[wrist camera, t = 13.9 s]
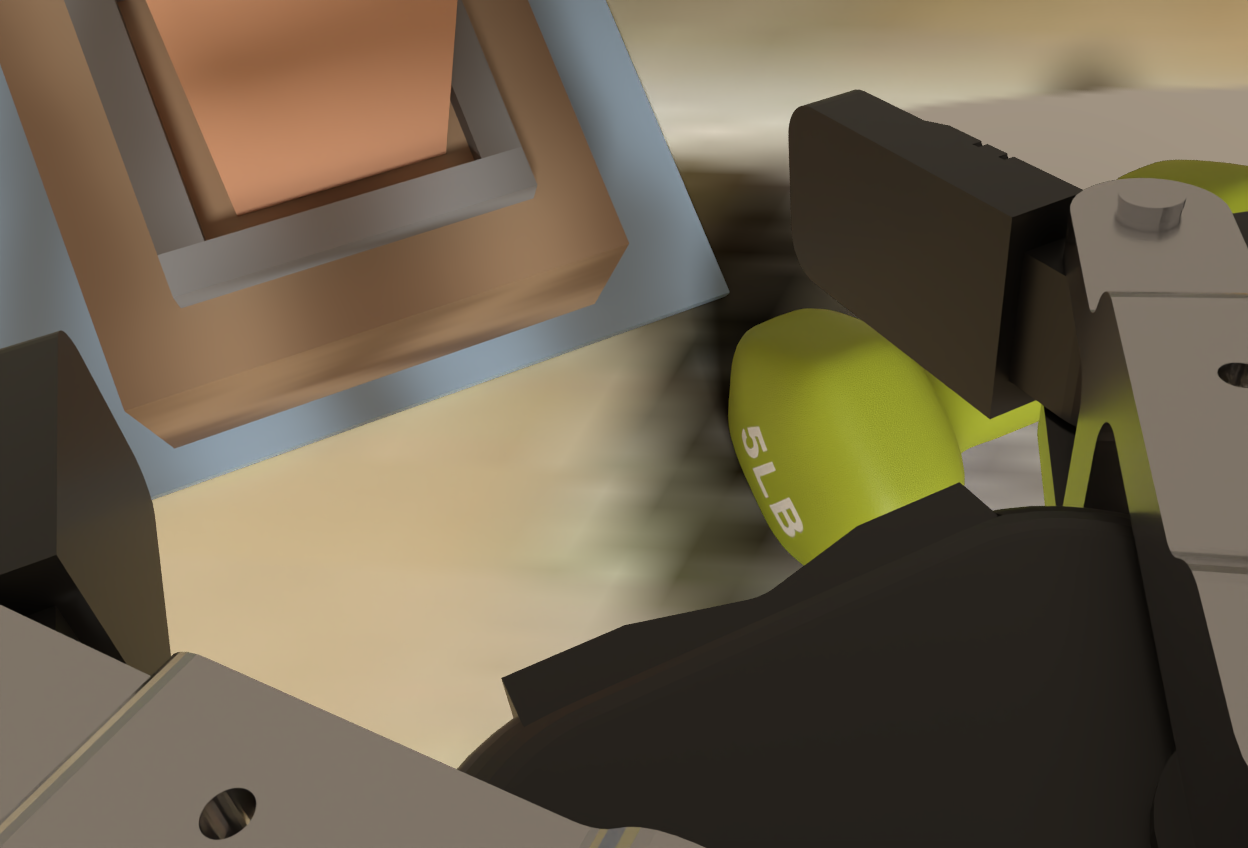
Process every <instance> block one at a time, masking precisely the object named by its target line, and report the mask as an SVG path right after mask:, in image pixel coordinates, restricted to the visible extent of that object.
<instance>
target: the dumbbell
mask: <svg viewBox="0 0 1248 848" xmlns="http://www.w3.org/2000/svg"><path fill="white" fill-rule="evenodd" d="M1128 178H1155V179H1166V180H1172V181H1178V182H1182V183H1186V184H1191V185H1194V186H1197V187H1200V188H1203V189H1205V190H1207V191H1209V192H1211V193H1213V194H1215V195H1216V196H1218V197H1219V198H1221V199H1222V200H1223V201H1224V202H1225V203H1226V204H1227V205H1228V206H1229V208H1230V210H1231V212H1232V213H1238V212H1245V211H1248V166H1244V165H1238V164H1231V163H1221V162H1211V161H1198V160H1167V161H1160V162H1156V163H1153V164H1150V165H1147V166H1144V167H1142V168H1139V169H1137V170H1135V171H1132V172H1130V173H1127V174H1125V175H1123V176H1121V177H1120V178H1118V179H1117V180H1119V179H1128ZM1040 409H1041V403H1039V402H1038V401H1033V402H1031V403H1028V404H1026V405H1024V406H1021V407H1019V408H1016V409H1014V410H1011V411H1009V412H1007V413H1004V414H1002V415H999V416H997V417H995V418H992V419H989V418H987V417H986V416H985V415H983V414H982V413H981V412H980V411H978V410H977V409H976V408H974V407H973V406H972V405H971V404H969V403H968V402H967V401H965V400H964V399H963V398H962V397H960V396H959V395H958V394H956V393H955V392H954V391H953V390H951V389H950V388H949V387H947V386H946V385H945V384H944V383H942V382H941V381H940V380H938V379H937V378H936V377H934V376H933V375H932V374H931V373H929V372H928V371H927V370H925V369H924V368H923V367H922V366H920V365H919V364H918V363H916V362H915V361H914V360H913V359H911V358H910V357H909V356H907V355H906V354H905V353H904V352H902V351H901V350H900V349H898V348H897V347H896V346H895V345H893V344H892V343H891V342H889V341H888V340H887V339H886V338H884V337H883V336H882V335H880V334H879V333H878V332H877V331H875V330H874V329H873V328H871V327H870V326H869V325H868V324H866V323H865V322H864V321H862V320H860V319H857V318H854V317H852V316H849V315H846V314H843V313H840V312H836V311H831V310H827V309H811V308H805V309H800V310H795V311H792V312H789V313H786V314H783V315H780V316H777V317H775V318H773V319H770V320H768V321H765V322H763V323H761V324H758V325H756V326H754V327H753V328H751V329H750V330H748V331H747V332H746V333H745V334H744V336H743V337H742V338H741V340H740V341H739V343H738V345H737V347H736V350H735V354H734V357H733V361H732V368H731V379H730V393H729V407H728V421H729V430H730V435H731V439H732V442H733V446H734V449H735V452H736V455H737V458H738V460H739V463H740V465H741V468H742V470H743V472H744V475H745V477H746V479H747V481H748V484H749V486H750V488H751V490H752V492H753V495H754V497H755V499H756V501H757V503H758V505H759V507H760V510H761V512H762V514H763V516H764V518H765V519H766V521H767V523H768V525H769V527H770V529H771V530H772V532H773V533H774V535H775V536H776V538H777V539H778V540H779V542H780V543H781V544H782V546H783V547H784V548H785V549H786V550H787V551H788V552H789V553H790V554H791V555H792V556H793V557H794V558H795V559H796V560H798V561H799V562H800V563H801V564H803V565H806V564H807V563H808V562H810V561H811V560H812V559H814V558H815V557H816V556H818V555H819V554H820V553H822V552H823V551H824V550H826V549H827V548H828V547H830V546H831V545H832V544H834V543H835V542H836V541H838V540H839V539H840V538H842V537H843V536H844V535H846V534H847V533H848V532H850V531H851V530H852V529H854V528H855V527H856V526H858V525H861V524H863V523H865V522H868V521H870V520H872V519H875V518H877V517H879V516H882V515H884V514H886V513H889V512H891V511H893V510H896V509H898V508H900V507H903V506H905V505H907V504H910V503H912V502H914V501H917V500H919V499H921V498H924V497H926V496H928V495H931V494H933V493H935V492H938V491H940V490H942V489H945V488H947V487H949V486H952V485H954V484H956V483H959V482H960V483H961V484H962V485H964V484H965V483H964V468H963V462H962V456H961V453H962V452H964V451H965V450H967V449H969V448H971V447H973V446H976V445H979V444H982V443H984V442H987V441H990V440H993V439H996V438H998V437H1001V436H1003V435H1006V434H1008V433H1011V432H1013V431H1016V430H1018V429H1021V428H1023V427H1025V426H1028V425H1030V424H1033V423H1035V422H1037V421H1039V416H1040Z"/></svg>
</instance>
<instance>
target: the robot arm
mask: <svg viewBox="0 0 1248 848" xmlns="http://www.w3.org/2000/svg"><path fill="white" fill-rule="evenodd" d="M789 168H790V200H791V231H792V240H793V245H794V249H795V253H796V255H797V258H798V261H799V263H800V265H801V267H802V269H803V270H804V272H805V273H806V275H807V276H808V277H809V279H810V280H811V281H812V282H814V283H815V284H816V285H817V286H819V287H820V288H821V289H822V290H824V291H825V292H826V293H828V294H829V295H830V296H831V297H833V298H834V299H835V300H837V301H838V302H839V303H841V304H842V305H843V306H844V307H846V308H847V309H848V310H850V311H851V312H852V313H853V314H855V315H856V316H857V317H859V318H860V319H861V320H862V321H864V322H865V323H866V324H868V325H869V326H870V327H871V328H873V329H874V330H875V331H877V332H878V333H879V334H880V335H882V336H883V337H884V338H886V339H887V340H888V341H889V342H891V343H892V344H893V345H895V346H896V347H897V348H898V349H900V350H901V351H902V352H904V353H905V354H906V355H907V356H909V357H910V358H911V359H913V360H914V361H915V362H916V363H918V364H919V365H920V366H922V367H923V368H924V369H925V370H927V371H928V372H929V373H931V374H932V375H933V376H934V377H936V378H937V379H938V380H940V381H941V382H942V383H944V384H945V385H946V386H947V387H949V388H950V389H951V390H953V391H954V392H955V393H956V394H958V395H959V396H960V397H962V398H963V399H964V400H965V401H967V402H968V403H969V404H971V405H972V406H973V407H974V408H976V409H977V410H978V411H980V412H981V413H982V414H983V415H985V416H986V417H987V418H989V419H992V418H995V417H997V416H999V415H1002V414H1004V413H1007V412H1009V411H1011V410H1014V409H1016V408H1019V407H1021V406H1024V405H1026V404H1028V403H1031V402H1033V401H1038V402H1039V403H1041V409H1040V416H1039V423H1038V433H1037V436H1038V445H1039V454H1040V463H1041V472H1042V482H1043V491H1044V500H1045V506H1028V507H1018V508H1008V509H1000V510H994V511H992V510H991V509H990V508H989V507H988V506H986V505H985V504H984V503H983V502H982V501H981V500H980V499H978V498H977V497H976V496H975V495H974V494H973V493H972V492H970V491H969V490H968V489H967V488H966V487H965V486H964V485H962V484H961V483H960V482H959V483H956V484H954V485H952V486H949V487H947V488H945V489H942V490H940V491H938V492H935V493H933V494H931V495H928V496H926V497H924V498H921V499H919V500H917V501H914V502H912V503H910V504H907V505H905V506H903V507H900V508H898V509H896V510H893V511H891V512H889V513H886V514H884V515H882V516H879V517H877V518H875V519H872V520H870V521H868V522H865V523H863V524H861V525H858V526H856V527H855V528H854V529H852V530H851V531H850V532H848V533H847V534H846V535H844V536H843V537H842V538H840V539H839V540H838V541H836V542H835V543H834V544H832V545H831V546H830V547H828V548H827V549H826V550H824V551H823V552H822V553H820V554H819V555H818V556H816V557H815V558H814V559H812V560H811V561H810V562H808V563H807V564H806V565H804V566H803V567H802V568H800V569H799V570H798V571H796V572H795V573H794V574H792V575H791V576H790V577H788V578H787V579H786V580H784V581H783V582H782V583H780V584H779V585H778V586H776V587H775V588H774V589H772V590H771V591H769V592H767V593H766V594H764V595H761V596H759V597H757V598H753V599H749V600H745V601H740V602H735V603H730V604H726V605H721V606H716V607H711V608H706V609H701V610H696V611H692V612H687V613H682V614H677V615H672V616H667V617H663V618H658V619H653V620H648V621H643V622H638V623H634V624H629V625H624V626H622V627H620V628H617V629H615V630H613V631H610V632H608V633H606V634H603V635H601V636H599V637H596V638H594V639H592V640H589V641H587V642H585V643H582V644H580V645H578V646H575V647H573V648H571V649H568V650H566V651H564V652H561V653H559V654H557V655H554V656H552V657H550V658H547V659H545V660H543V661H540V662H538V663H536V664H533V665H531V666H529V667H526V668H524V669H521V670H519V671H517V672H514V673H512V674H510V675H507V676H505V677H503V678H501V679H502V682H503V685H504V688H505V692H506V695H507V698H508V701H509V705H510V708H511V711H512V714H513V719H512V720H511V721H509V722H508V723H507V724H505V725H504V726H503V727H501V728H500V729H499V730H497V731H496V732H495V733H493V734H492V735H491V736H490V737H489V738H488V739H487V740H486V741H485V742H483V743H482V744H481V745H480V746H479V747H478V748H477V749H476V750H475V751H474V752H472V753H471V754H470V755H469V756H468V757H467V758H466V760H465V761H464V762H463V763H462V764H461V765H460V766H459V768H458V769H455V768H452V767H450V766H448V765H446V764H443V763H441V762H439V761H437V760H434V759H432V758H430V757H428V756H425V755H423V754H421V753H419V752H416V751H414V750H412V749H410V748H407V747H405V746H403V745H401V744H399V743H396V742H394V741H392V740H390V739H387V738H385V737H383V736H381V735H378V734H376V733H374V732H372V731H369V730H367V729H365V728H363V727H360V726H358V725H356V724H354V723H351V722H349V721H347V720H345V719H342V718H340V717H338V716H336V715H333V714H331V713H329V712H327V711H324V710H322V709H320V708H318V707H315V706H313V705H311V704H309V703H306V702H304V701H302V700H300V699H298V698H295V697H293V696H291V695H289V694H286V693H284V692H282V691H280V690H277V689H275V688H273V687H271V686H268V685H266V684H264V683H262V682H259V681H257V680H255V679H253V678H250V677H248V676H246V675H244V674H241V673H239V672H237V671H235V670H232V669H230V668H228V667H226V666H223V665H221V664H219V663H217V662H214V661H212V660H210V659H208V658H205V657H203V656H200V655H197V654H193V653H189V652H178V653H174V654H173V655H172V656H171V653H170V644H169V636H168V627H167V618H166V609H165V601H164V592H163V583H162V574H161V566H160V557H159V548H158V539H157V531H156V522H155V514H154V508H153V503H152V500H151V496H150V493H149V490H148V487H147V484H146V481H145V479H144V476H143V473H142V471H141V469H140V466H139V464H138V462H137V460H136V458H135V456H134V454H133V452H132V450H131V448H130V446H129V444H128V443H127V441H126V439H125V437H124V435H123V433H122V431H121V429H120V428H119V426H118V424H117V422H116V420H115V418H114V416H113V414H112V413H111V411H110V409H109V407H108V405H107V403H106V401H105V399H104V398H103V396H102V394H101V392H100V390H99V388H98V386H97V384H96V383H95V381H94V379H93V377H92V375H91V373H90V371H89V369H88V368H87V366H86V364H85V362H84V360H83V358H82V356H81V355H80V353H79V351H78V349H77V348H76V346H75V344H74V343H73V341H72V340H71V339H70V337H69V336H68V335H67V334H66V333H65V332H64V331H62V330H60V331H57V332H54V333H50V334H47V335H44V336H41V337H37V338H34V339H31V340H27V341H24V342H21V343H18V344H14V345H11V346H8V347H4V348H1V349H0V848H1248V211H1245V212H1238V213H1232V212H1231V210H1230V208H1229V206H1228V205H1227V204H1226V203H1225V202H1224V201H1223V200H1222V199H1221V198H1219V197H1218V196H1216V195H1215V194H1213V193H1211V192H1209V191H1207V190H1205V189H1203V188H1200V187H1197V186H1194V185H1191V184H1186V183H1182V182H1178V181H1172V180H1166V179H1155V178H1128V179H1119V180H1112V181H1107V182H1103V183H1100V184H1097V185H1093V186H1091V187H1089V188H1087V189H1085V190H1082V189H1080V188H1078V187H1076V186H1073V185H1072V184H1069V183H1067V182H1065V181H1063V180H1061V179H1059V178H1057V177H1055V176H1053V175H1051V174H1049V173H1047V172H1044V171H1042V170H1040V169H1038V168H1036V167H1034V166H1032V165H1030V164H1028V163H1026V162H1024V161H1022V160H1019V159H1017V158H1015V157H1012V158H1008V156H1007V153H1005V152H1003V151H1001V150H999V149H997V148H994V147H993V146H990V145H988V144H987V145H984V146H982V143H981V141H980V140H978V139H976V138H974V137H971V136H970V135H968V134H965V133H963V132H961V131H959V130H957V129H955V128H953V127H951V126H948V125H943V124H938V123H934V122H929V121H924V120H922V119H920V118H918V117H916V116H914V115H912V114H910V113H908V112H906V111H903V110H901V109H899V108H897V107H895V106H893V105H891V104H889V103H887V102H885V101H883V100H881V99H879V98H877V97H875V96H873V95H871V94H869V93H867V92H865V91H862V90H853V91H850V92H846V93H843V94H840V95H836V96H833V97H830V98H827V99H823V100H820V101H817V102H813V103H810V104H807V105H804V106H800V107H798V108H797V109H796V110H795V111H794V112H793V114H792V117H791V120H790V123H789Z"/></svg>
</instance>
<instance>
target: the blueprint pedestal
mask: <svg viewBox="0 0 1248 848" xmlns="http://www.w3.org/2000/svg"><path fill="white" fill-rule="evenodd" d="M728 294H729V289H728V287H727V285H726V282H725V280H724V277H723V275H722V273H721V270H720V268H719V266H718V263H717V261H716V259H715V256H714V254H713V252H712V249H711V247H710V245H709V242H708V240H707V237H706V235H705V233H704V230H703V228H702V226H701V223H700V221H699V219H698V216H697V214H696V212H695V209H694V207H693V205H692V202H691V200H690V197H689V195H688V193H687V190H686V188H685V186H684V183H683V181H682V179H681V176H680V174H679V172H678V169H677V167H676V165H675V162H674V160H673V157H672V155H671V153H670V150H669V148H668V146H667V143H666V141H665V139H664V136H663V134H662V132H661V129H660V127H659V125H658V122H657V120H656V117H655V115H654V113H653V110H652V108H651V106H650V103H649V101H648V99H647V96H646V94H645V92H644V89H643V87H642V85H641V82H640V80H639V77H638V75H637V73H636V70H635V68H634V66H633V63H632V61H631V59H630V56H629V54H628V52H627V49H626V47H625V45H624V42H623V40H622V38H621V35H620V33H619V30H618V28H617V26H616V23H615V21H614V19H613V16H612V14H611V12H610V9H609V7H608V5H607V2H606V0H457V14H456V27H455V40H454V53H453V67H452V80H451V93H450V106H449V120H448V133H447V146H446V154H443V155H440V156H437V157H433V158H430V159H427V160H424V161H420V162H417V163H414V164H410V165H407V166H404V167H400V168H397V169H394V170H390V171H387V172H384V173H380V174H377V175H374V176H370V177H367V178H364V179H360V180H357V181H354V182H350V183H347V184H344V185H340V186H337V187H334V188H330V189H327V190H324V191H320V192H317V193H314V194H310V195H307V196H304V197H301V198H297V199H294V200H291V201H287V202H284V203H281V204H277V205H274V206H271V207H267V208H264V209H261V210H257V211H254V212H251V213H247V214H244V215H241V216H237V214H236V212H235V210H234V207H233V205H232V203H231V200H230V198H229V196H228V193H227V191H226V188H225V186H224V184H223V181H222V179H221V177H220V174H219V172H218V170H217V167H216V165H215V163H214V160H213V158H212V155H211V153H210V151H209V148H208V146H207V144H206V141H205V139H204V137H203V134H202V132H201V130H200V127H199V125H198V122H197V120H196V118H195V115H194V113H193V111H192V108H191V106H190V104H189V101H188V99H187V97H186V94H185V92H184V89H183V87H182V85H181V82H180V80H179V78H178V75H177V73H176V71H175V68H174V66H173V64H172V61H171V59H170V56H169V54H168V52H167V49H166V47H165V45H164V42H163V40H162V38H161V35H160V33H159V31H158V28H157V26H156V23H155V21H154V19H153V16H152V14H151V12H150V9H149V7H148V5H147V2H146V0H0V349H1V348H4V347H8V346H11V345H14V344H18V343H21V342H24V341H27V340H31V339H34V338H37V337H41V336H44V335H47V334H50V333H54V332H57V331H60V330H62V331H64V332H65V333H66V334H67V335H68V336H69V337H70V339H71V340H72V341H73V343H74V344H75V346H76V348H77V349H78V351H79V353H80V355H81V356H82V358H83V360H84V362H85V364H86V366H87V368H88V369H89V371H90V373H91V375H92V377H93V379H94V381H95V383H96V384H97V386H98V388H99V390H100V392H101V394H102V396H103V398H104V399H105V401H106V403H107V405H108V407H109V409H110V411H111V413H112V414H113V416H114V418H115V420H116V422H117V424H118V426H119V428H120V429H121V431H122V433H123V435H124V437H125V439H126V441H127V443H128V444H129V446H130V448H131V450H132V452H133V454H134V456H135V458H136V460H137V462H138V464H139V466H140V469H141V471H142V473H143V476H144V479H145V481H146V484H147V487H148V490H149V493H150V496H151V500H153V499H156V498H159V497H161V496H164V495H167V494H170V493H173V492H175V491H178V490H181V489H184V488H187V487H190V486H192V485H195V484H198V483H201V482H204V481H207V480H209V479H212V478H215V477H218V476H221V475H223V474H226V473H229V472H232V471H235V470H238V469H240V468H243V467H246V466H249V465H252V464H254V463H257V462H260V461H263V460H266V459H269V458H271V457H274V456H277V455H280V454H283V453H285V452H288V451H291V450H294V449H297V448H300V447H302V446H305V445H308V444H311V443H314V442H316V441H319V440H322V439H325V438H328V437H331V436H333V435H336V434H339V433H342V432H345V431H347V430H350V429H353V428H356V427H359V426H362V425H364V424H367V423H370V422H373V421H376V420H378V419H381V418H384V417H387V416H390V415H393V414H395V413H398V412H401V411H404V410H407V409H409V408H412V407H415V406H418V405H421V404H424V403H426V402H429V401H432V400H435V399H438V398H440V397H443V396H446V395H449V394H452V393H455V392H457V391H460V390H463V389H466V388H469V387H471V386H474V385H477V384H480V383H483V382H486V381H488V380H491V379H494V378H497V377H500V376H502V375H505V374H508V373H511V372H514V371H517V370H519V369H522V368H525V367H528V366H531V365H533V364H536V363H539V362H542V361H545V360H548V359H550V358H553V357H556V356H559V355H562V354H564V353H567V352H570V351H573V350H576V349H579V348H581V347H584V346H587V345H590V344H593V343H595V342H598V341H601V340H604V339H607V338H610V337H612V336H615V335H618V334H621V333H624V332H627V331H629V330H632V329H635V328H638V327H641V326H643V325H646V324H649V323H652V322H655V321H658V320H660V319H663V318H666V317H669V316H672V315H674V314H677V313H680V312H683V311H686V310H689V309H691V308H694V307H697V306H700V305H703V304H705V303H708V302H711V301H714V300H717V299H720V298H722V297H725V296H727V295H728Z"/></svg>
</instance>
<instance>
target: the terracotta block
mask: <svg viewBox="0 0 1248 848" xmlns="http://www.w3.org/2000/svg"><path fill="white" fill-rule="evenodd" d="M146 2H147V5H148V7H149V9H150V12H151V14H152V16H153V19H154V21H155V23H156V26H157V28H158V31H159V33H160V35H161V38H162V40H163V42H164V45H165V47H166V49H167V52H168V54H169V56H170V59H171V61H172V64H173V66H174V68H175V71H176V73H177V75H178V78H179V80H180V82H181V85H182V87H183V89H184V92H185V94H186V97H187V99H188V101H189V104H190V106H191V108H192V111H193V113H194V115H195V118H196V120H197V122H198V125H199V127H200V130H201V132H202V134H203V137H204V139H205V141H206V144H207V146H208V148H209V151H210V153H211V155H212V158H213V160H214V163H215V165H216V167H217V170H218V172H219V174H220V177H221V179H222V181H223V184H224V186H225V188H226V191H227V193H228V196H229V198H230V200H231V203H232V205H233V207H234V210H235V212H236V214H237V216H241V215H244V214H247V213H251V212H254V211H257V210H261V209H264V208H267V207H271V206H274V205H277V204H281V203H284V202H287V201H291V200H294V199H297V198H301V197H304V196H307V195H310V194H314V193H317V192H320V191H324V190H327V189H330V188H334V187H337V186H340V185H344V184H347V183H350V182H354V181H357V180H360V179H364V178H367V177H370V176H374V175H377V174H380V173H384V172H387V171H390V170H394V169H397V168H400V167H404V166H407V165H410V164H414V163H417V162H420V161H424V160H427V159H430V158H433V157H437V156H440V155H443V154H446V146H447V133H448V120H449V106H450V93H451V80H452V67H453V53H454V40H455V27H456V14H457V0H146Z"/></svg>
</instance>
